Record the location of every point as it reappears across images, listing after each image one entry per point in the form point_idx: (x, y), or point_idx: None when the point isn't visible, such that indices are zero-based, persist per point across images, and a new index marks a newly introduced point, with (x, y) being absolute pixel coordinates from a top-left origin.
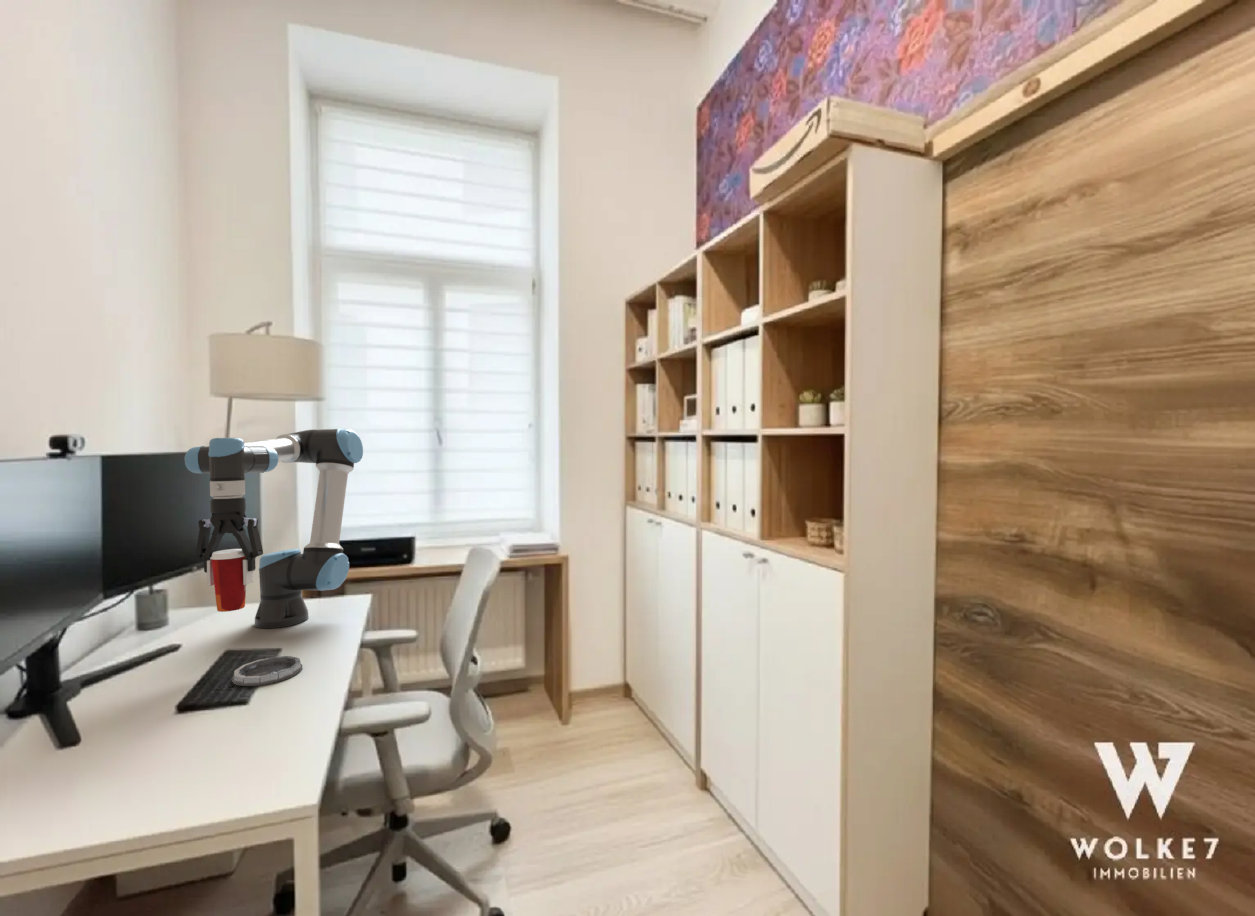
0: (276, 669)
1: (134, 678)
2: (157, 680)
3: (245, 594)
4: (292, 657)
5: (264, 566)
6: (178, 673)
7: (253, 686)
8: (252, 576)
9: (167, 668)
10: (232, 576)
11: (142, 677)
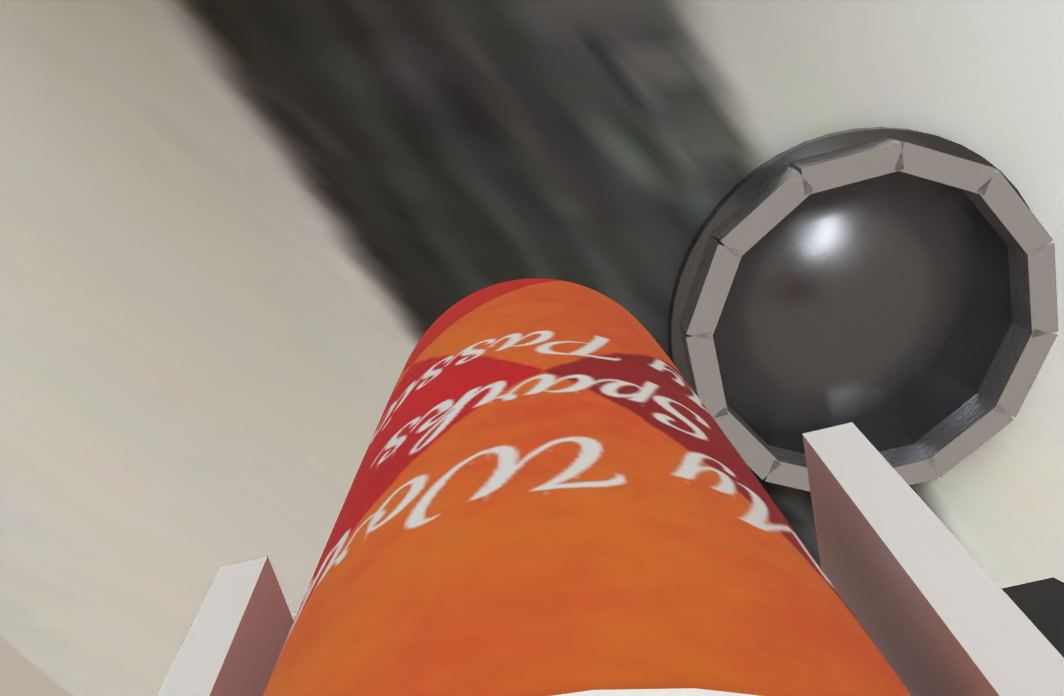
0: (886, 280)
1: (74, 486)
2: (248, 487)
3: (681, 375)
4: (940, 165)
5: None
6: (262, 387)
7: None
8: (897, 477)
9: (96, 332)
10: None
11: (105, 468)
